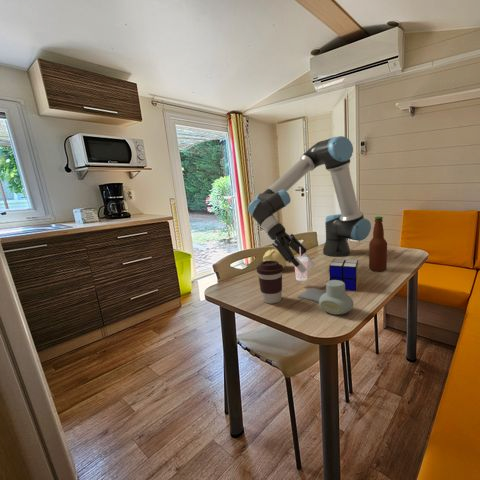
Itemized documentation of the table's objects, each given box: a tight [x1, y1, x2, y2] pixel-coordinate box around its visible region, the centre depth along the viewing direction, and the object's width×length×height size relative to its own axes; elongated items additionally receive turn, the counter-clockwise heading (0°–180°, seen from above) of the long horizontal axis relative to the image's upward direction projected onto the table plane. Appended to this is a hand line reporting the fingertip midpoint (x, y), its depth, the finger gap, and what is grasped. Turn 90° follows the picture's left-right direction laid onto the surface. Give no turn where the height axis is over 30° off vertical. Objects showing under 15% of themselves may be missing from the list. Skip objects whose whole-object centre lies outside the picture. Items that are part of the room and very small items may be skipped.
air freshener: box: [318, 279, 354, 315], centre depth 88 cm, size 11×8×10 cm
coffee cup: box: [256, 260, 284, 305], centre depth 100 cm, size 10×10×15 cm
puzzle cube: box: [328, 258, 359, 292], centre depth 108 cm, size 10×10×10 cm
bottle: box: [368, 216, 388, 273], centre depth 121 cm, size 7×7×25 cm
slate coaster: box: [297, 287, 326, 304], centre depth 102 cm, size 10×10×1 cm
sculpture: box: [262, 248, 287, 269], centre depth 137 cm, size 12×12×11 cm
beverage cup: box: [293, 247, 308, 282], centre depth 110 cm, size 6×6×14 cm
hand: (308, 269), depth 108 cm, fingers closed on beverage cup, 6 cm apart
